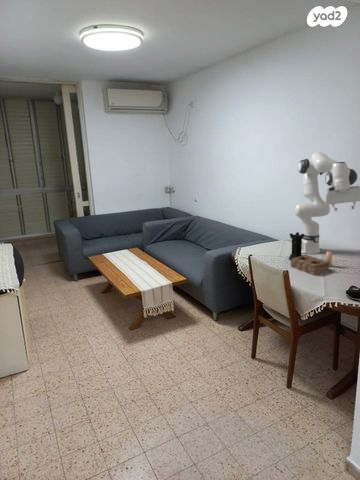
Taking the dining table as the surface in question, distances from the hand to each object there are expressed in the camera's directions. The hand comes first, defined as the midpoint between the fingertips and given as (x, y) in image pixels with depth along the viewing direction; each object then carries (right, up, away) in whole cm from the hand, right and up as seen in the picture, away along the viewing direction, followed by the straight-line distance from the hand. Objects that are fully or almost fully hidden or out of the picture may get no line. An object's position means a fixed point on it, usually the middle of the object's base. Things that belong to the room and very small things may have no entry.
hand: (344, 210), depth 201 cm
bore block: (-11, -38, +26) cm, 47 cm away
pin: (+3, -36, +28) cm, 46 cm away
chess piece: (-14, -33, +44) cm, 57 cm away
